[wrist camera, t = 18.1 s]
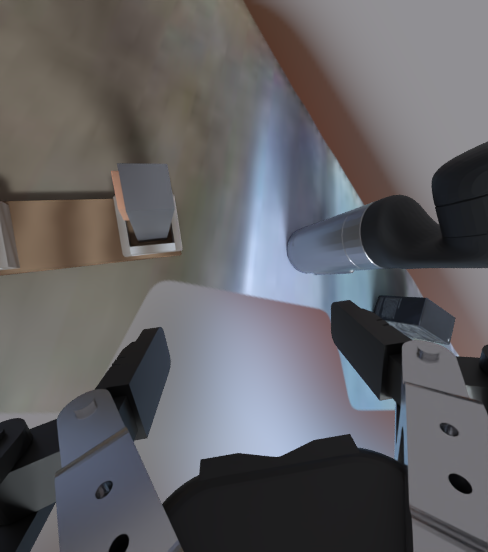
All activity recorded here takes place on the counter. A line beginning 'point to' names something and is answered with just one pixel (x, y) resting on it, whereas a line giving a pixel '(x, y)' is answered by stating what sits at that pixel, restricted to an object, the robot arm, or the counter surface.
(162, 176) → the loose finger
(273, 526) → the robot arm
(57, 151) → the counter surface
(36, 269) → the wooden base with sockets
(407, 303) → the small box
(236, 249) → the counter surface
